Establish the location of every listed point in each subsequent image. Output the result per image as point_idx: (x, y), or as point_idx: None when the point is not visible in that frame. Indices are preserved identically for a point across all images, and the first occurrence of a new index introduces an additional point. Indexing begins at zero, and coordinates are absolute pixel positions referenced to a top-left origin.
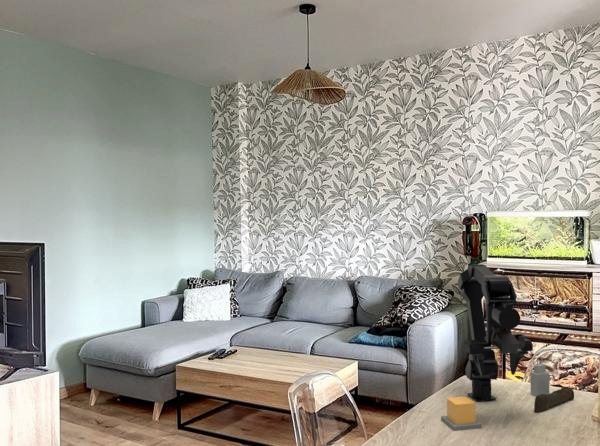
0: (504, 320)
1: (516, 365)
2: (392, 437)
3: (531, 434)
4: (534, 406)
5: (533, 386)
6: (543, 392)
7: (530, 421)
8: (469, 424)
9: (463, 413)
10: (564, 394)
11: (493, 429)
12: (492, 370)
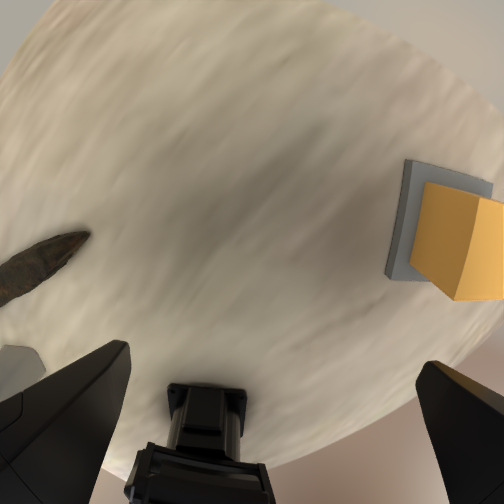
0: None
1: (53, 387)
2: None
3: (255, 27)
4: (78, 241)
5: (26, 379)
6: (12, 353)
7: (161, 148)
8: (449, 178)
9: (488, 198)
10: None
11: (373, 126)
12: (175, 476)
